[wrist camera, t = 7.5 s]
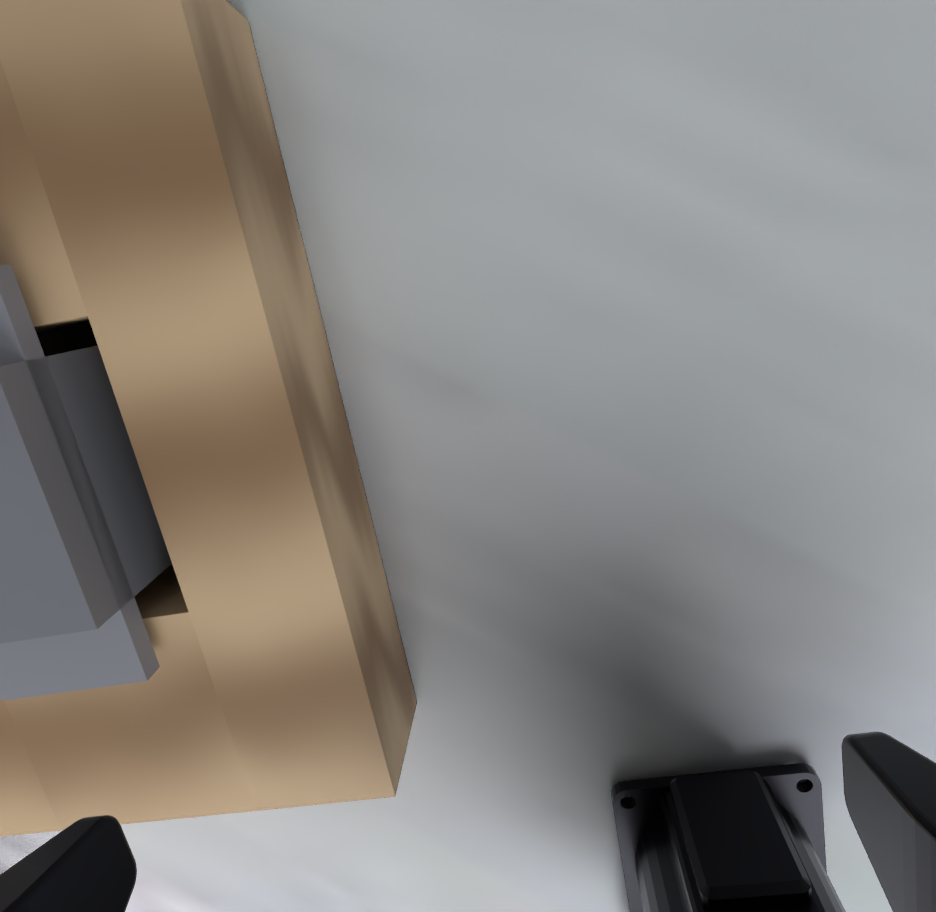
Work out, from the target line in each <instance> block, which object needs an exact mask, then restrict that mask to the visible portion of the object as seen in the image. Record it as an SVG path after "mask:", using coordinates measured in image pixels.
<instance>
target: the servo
mask: <svg viewBox="0 0 936 912" xmlns="http://www.w3.org/2000/svg"><path fill="white" fill-rule="evenodd" d="M171 564H172V562H171V559H170V556H169V553H168V550H167V547H166V544H165V541H164V538H163V535H162V532H161V529H160V527H159V524H158V521H157V518H156V515H155V512H154V509H153V506H152V503H151V500H150V497H149V494H148V491H147V488H146V485H145V483H144V480H143V477H142V474H141V471H140V468H139V465H138V462H137V459H136V456H135V453H134V450H133V447H132V444H131V441H130V439H129V436H128V433H127V430H126V427H125V424H124V421H123V418H122V415H121V412H120V409H119V406H118V403H117V400H116V397H115V395H114V392H113V389H112V386H111V383H110V380H109V377H108V374H107V371H106V368H105V365H104V362H103V359H102V356H101V353H100V350H99V348H98V345H97V346H92V347H88V348H83V349H78V350H73V351H68V352H63V353H59V354H54V355H49V356H45V355H44V352H43V350H42V347H41V344H40V342H39V339H38V336H37V333H36V331H35V328H34V325H33V323H32V320H31V317H30V315H29V312H28V309H27V307H26V304H25V301H24V298H23V296H22V293H21V290H20V288H19V285H18V282H17V280H16V277H15V274H14V271H13V269H12V266H11V265H0V697H1V699H2V701H4V700H12V699H19V698H27V697H34V696H41V695H49V694H56V693H63V692H71V691H78V690H85V689H93V688H100V687H107V686H115V685H122V684H130V683H137V682H144V681H148V680H149V679H150V678H151V676H152V675H153V674H154V673H155V672H156V671H157V670H158V668H159V667H160V665H159V662H158V660H157V657H156V654H155V652H154V649H153V646H152V644H151V641H150V638H149V635H148V633H147V630H146V627H145V625H144V622H143V619H142V617H141V614H140V611H139V609H138V606H137V603H136V600H135V598H134V596H136V595H137V594H138V593H139V592H140V591H141V590H142V589H144V588H145V587H146V586H147V585H148V584H149V583H150V582H151V581H153V580H154V579H155V578H156V577H157V576H158V575H159V574H161V573H162V572H163V571H164V570H165V569H166V568H167V567H168V566H170V565H171Z"/></svg>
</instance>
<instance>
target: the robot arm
mask: <svg viewBox="0 0 936 912" xmlns="http://www.w3.org/2000/svg"><path fill="white" fill-rule="evenodd" d="M842 762H843V780H844V795H845V801H846V805H847V808H848V811H849V814H850V817H851V819H852V821H853V824H854V826H855V828H856V830H857V833H858V835H859V837H860V839H861V841H862V844H863V846H864V848H865V850H866V853H867V855H868V857H869V859H870V861H871V864H872V866H873V868H874V870H875V873H876V875H877V877H878V879H879V881H880V884H881V886H882V888H883V890H884V893H885V895H886V897H887V899H888V901H889V904H890V906H891V908H892V910H893V912H936V763H935V762H933V761H932V760H930V759H928V758H926V757H925V756H923V755H921V754H920V753H918V752H916V751H915V750H913V749H911V748H910V747H908V746H906V745H904V744H903V743H901V742H899V741H898V740H896V739H894V738H893V737H891V736H889V735H887V734H885V733H882V732H869V733H860V734H850V735H847V736H846V737H845V738H844V739H843V742H842ZM803 779H807V780H806V781H804V782H802V783H798V782H799V781H800V780H803ZM627 796H629V797H632V798H631V799H628V800H626V799H622V798H623V797H627ZM611 797H612V803H613V809H614V815H615V821H616V827H617V833H618V840H619V846H620V852H621V858H622V864H623V870H624V876H625V883H626V889H627V895H628V901H629V907H630V912H845V910H844V908H843V906H842V904H841V902H840V900H839V898H838V896H837V893H836V891H835V889H834V887H833V885H832V883H831V881H830V879H829V877H828V875H827V872H826V855H825V838H824V822H823V805H822V788H821V782H820V779H819V777H818V776H817V774H816V772H815V770H814V769H813V768H812V767H811V766H809V765H806V764H789V765H779V766H769V767H759V768H749V769H739V770H729V771H719V772H709V773H699V774H689V775H679V776H669V777H659V778H649V779H639V780H629V781H622V782H619V783H617V784H616V785H614V787H613V788H612V791H611ZM136 874H137V868H136V862H135V859H134V857H133V854H132V852H131V849H130V847H129V845H128V842H127V840H126V837H125V835H124V833H123V830H122V828H121V825H120V823H119V821H118V820H117V819H116V818H115V817H113V816H110V815H102V816H93V817H86V818H82V819H80V820H78V821H76V822H74V823H73V824H72V825H70V826H69V827H67V828H66V829H64V830H63V831H62V832H60V833H59V834H57V835H56V836H55V837H53V838H52V839H50V840H49V841H48V842H46V843H45V844H43V845H42V846H40V847H39V848H38V849H36V850H35V851H33V852H32V853H31V854H29V855H28V856H26V857H25V858H24V859H22V860H21V861H19V862H18V863H16V864H15V865H14V866H12V867H11V868H9V869H8V870H7V871H5V872H4V873H2V874H1V875H0V912H125V910H126V907H127V905H128V902H129V899H130V896H131V894H132V891H133V888H134V885H135V881H136Z"/></svg>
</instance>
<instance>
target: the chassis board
mask: <svg viewBox="0 0 936 912" xmlns="http://www.w3.org/2000/svg"><path fill="white" fill-rule="evenodd" d="M0 265H11V266H12V269H13V271H14V274H15V277H16V280H17V282H18V285H19V288H20V290H21V293H22V296H23V298H24V301H25V304H26V307H27V309H28V312H29V315H30V317H31V320H32V323H33V325H34V328H35V331H36V332H41V331H46V330H50V329H55V328H60V327H65V326H70V325H75V324H80V323H85V322H90V324H91V327H92V330H93V333H94V336H95V339H96V342H97V345H98V348H99V350H100V353H101V356H102V359H103V362H104V365H105V368H106V371H107V374H108V377H109V380H110V383H111V386H112V389H113V392H114V395H115V397H116V400H117V403H118V406H119V409H120V412H121V415H122V418H123V421H124V424H125V427H126V430H127V433H128V436H129V439H130V441H131V444H132V447H133V450H134V453H135V456H136V459H137V462H138V465H139V468H140V471H141V474H142V477H143V480H144V483H145V485H146V488H147V491H148V494H149V497H150V500H151V503H152V506H153V509H154V512H155V515H156V518H157V521H158V524H159V527H160V529H161V532H162V535H163V538H164V541H165V544H166V547H167V550H168V553H169V556H170V559H171V562H172V564H171V565H170V566H168V567H167V568H166V569H165V570H164V571H163V572H162V573H161V574H159V575H158V576H157V577H156V578H155V579H154V580H153V581H151V582H150V583H149V584H148V585H147V586H146V587H145V588H144V589H142V590H141V591H140V592H139V593H138V594H137V595H136V596H134V598H135V600H136V603H137V606H138V609H139V611H140V614H141V617H142V619H143V622H144V625H145V627H146V630H147V633H148V635H149V638H150V641H151V644H152V646H153V649H154V652H155V654H156V657H157V660H158V662H159V665H160V667H159V668H158V670H157V671H156V672H155V673H154V674H153V675H152V676H151V678H150V679H149V680H148V681H144V682H137V683H130V684H122V685H115V686H107V687H100V688H93V689H85V690H78V691H71V692H63V693H56V694H49V695H41V696H34V697H27V698H19V699H12V700H4V701H2V699H1V697H0V837H1V836H11V835H21V834H31V833H40V832H50V831H60V830H64V829H66V828H67V827H69V826H70V825H72V824H73V823H74V822H76V821H78V820H80V819H82V818H86V817H93V816H102V815H110V816H113V817H115V818H116V819H117V820H118V821H119V823H120V824H129V823H139V822H149V821H159V820H169V819H179V818H189V817H198V816H208V815H218V814H228V813H238V812H248V811H258V810H268V809H277V808H287V807H297V806H307V805H317V804H327V803H337V802H347V801H356V800H366V799H376V798H386V797H395V795H396V791H397V787H398V782H399V778H400V774H401V769H402V765H403V761H404V756H405V752H406V748H407V743H408V739H409V735H410V730H411V726H412V722H413V717H414V713H415V709H416V704H417V700H416V696H415V692H414V688H413V684H412V680H411V676H410V672H409V668H408V664H407V660H406V656H405V652H404V648H403V644H402V640H401V636H400V632H399V628H398V624H397V620H396V616H395V612H394V608H393V604H392V599H391V595H390V591H389V587H388V583H387V579H386V575H385V571H384V567H383V563H382V559H381V555H380V551H379V547H378V543H377V539H376V535H375V531H374V527H373V523H372V519H371V515H370V511H369V507H368V503H367V499H366V494H365V490H364V486H363V482H362V478H361V474H360V470H359V466H358V462H357V458H356V454H355V450H354V446H353V442H352V438H351V434H350V430H349V426H348V422H347V418H346V414H345V410H344V406H343V402H342V398H341V393H340V389H339V385H338V381H337V377H336V373H335V369H334V365H333V361H332V357H331V353H330V349H329V345H328V341H327V337H326V333H325V329H324V325H323V321H322V317H321V313H320V309H319V305H318V301H317V297H316V293H315V288H314V284H313V280H312V276H311V272H310V268H309V264H308V260H307V256H306V252H305V248H304V244H303V240H302V236H301V232H300V228H299V224H298V220H297V216H296V212H295V208H294V204H293V200H292V196H291V192H290V188H289V183H288V179H287V175H286V171H285V167H284V163H283V159H282V155H281V151H280V147H279V143H278V139H277V135H276V131H275V127H274V123H273V119H272V115H271V111H270V107H269V103H268V99H267V95H266V91H265V87H264V83H263V78H262V74H261V70H260V66H259V62H258V58H257V54H256V50H255V46H254V42H253V38H252V34H251V30H250V26H249V22H248V19H246V18H245V17H244V16H243V15H242V14H241V13H240V12H238V11H237V10H236V9H235V8H234V7H233V6H232V5H230V4H229V3H228V2H227V1H226V0H0Z"/></svg>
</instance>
